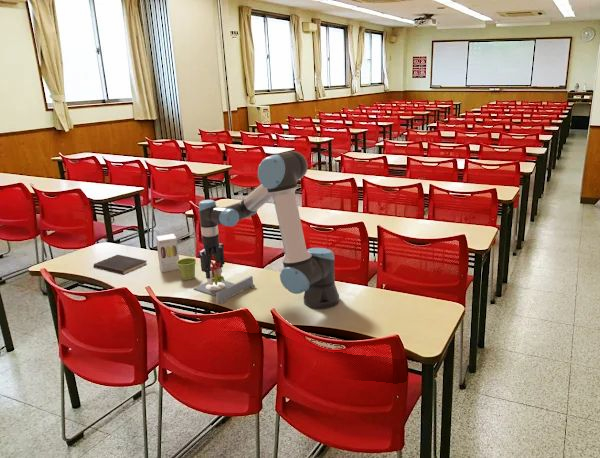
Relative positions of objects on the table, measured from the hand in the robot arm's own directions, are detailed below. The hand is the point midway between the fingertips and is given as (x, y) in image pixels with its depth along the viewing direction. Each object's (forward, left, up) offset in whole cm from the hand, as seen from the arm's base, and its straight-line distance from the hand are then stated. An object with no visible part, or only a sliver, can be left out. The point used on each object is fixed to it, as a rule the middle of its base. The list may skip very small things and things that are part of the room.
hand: (214, 282), depth 226 cm
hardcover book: (+65, +7, -3) cm, 65 cm away
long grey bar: (-13, 0, -3) cm, 13 cm away
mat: (0, 0, -3) cm, 3 cm away
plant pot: (+20, -1, -3) cm, 20 cm away
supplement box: (+39, -5, -3) cm, 39 cm away
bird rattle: (0, 0, 0) cm, 1 cm away
